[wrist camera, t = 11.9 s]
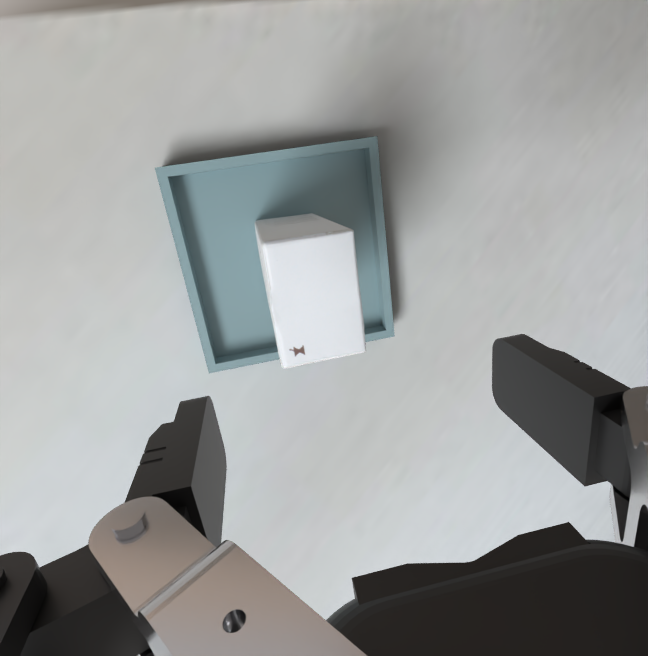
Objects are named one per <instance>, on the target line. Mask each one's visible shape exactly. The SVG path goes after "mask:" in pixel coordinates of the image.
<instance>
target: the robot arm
mask: <svg viewBox="0 0 648 656" xmlns="http://www.w3.org/2000/svg"><path fill="white" fill-rule="evenodd" d="M492 391H493V396H494V399H495V401H496V404H497V405H498V407H499V408H500V409H501V410H502V411H503V412H504V413H505V414H506V415H507V416H508V417H509V418H510V419H512V420H513V421H514V422H515V423H516V424H517V425H518V426H519V427H520V428H521V429H522V430H524V431H525V432H526V433H527V434H528V435H529V436H530V437H531V438H532V439H533V440H535V441H536V442H537V443H538V444H539V445H540V446H541V447H542V448H543V449H544V450H546V451H547V452H548V453H549V454H550V455H551V456H552V457H553V458H554V459H555V460H556V461H558V462H559V463H560V464H561V465H562V466H563V467H564V468H565V469H566V470H567V471H569V472H570V473H571V474H572V475H573V476H574V477H575V478H576V479H577V480H578V481H580V482H581V483H582V484H583V485H584V486H588V485H592V484H596V483H600V482H604V481H608V482H610V483H611V488H610V505H611V513H612V521H613V529H614V536H615V542H609V541H600V540H585V539H584V538H583V537H582V535H581V534H580V533H579V532H578V531H577V530H576V529H575V528H574V527H573V526H572V525H571V524H570V523H569V522H568V523H564V524H560V525H556V526H552V527H548V528H544V529H540V530H536V531H533V532H529V533H525V534H521V535H518V536H516V537H514V538H513V539H511V540H509V541H507V542H506V543H504V544H502V545H501V546H499V547H497V548H495V549H494V550H492V551H490V552H489V553H487V554H485V555H484V556H482V557H480V558H478V559H477V560H475V561H472V562H466V563H415V564H404V565H400V566H397V567H393V568H389V569H385V570H381V571H377V572H373V573H369V574H365V575H362V576H358V577H354V578H352V582H353V588H354V595H355V599H353V600H352V601H350V602H348V603H347V604H345V605H344V606H342V607H341V608H340V609H338V610H337V611H336V612H334V613H333V614H332V615H331V616H330V617H329V618H328V619H327V620H325V619H323V618H322V617H321V616H320V615H319V614H317V613H316V612H315V611H314V610H313V609H312V608H310V607H309V606H308V605H307V604H306V603H305V602H303V601H302V600H301V599H300V598H299V597H297V596H296V595H295V594H294V593H293V592H292V591H290V590H289V589H288V588H287V587H286V586H285V585H283V584H282V583H281V582H280V581H279V580H278V579H276V578H275V577H274V576H273V575H272V574H270V573H269V572H268V571H267V570H266V569H265V568H263V567H262V566H261V565H260V564H259V563H258V562H256V561H255V560H254V559H253V558H252V557H250V556H249V555H248V554H247V553H246V552H245V551H243V550H242V549H241V548H240V547H239V546H237V545H236V544H235V543H233V542H232V541H229V540H225V541H224V542H222V543H221V535H222V522H223V509H224V495H225V482H226V455H225V449H224V444H223V441H222V437H221V433H220V429H219V425H218V421H217V418H216V414H215V410H214V406H213V403H212V400H211V398H210V396H206V397H201V398H196V399H191V400H186V401H181V402H180V404H179V407H178V410H177V413H176V417H175V420H174V422H171V423H166V424H162V425H161V426H160V427H159V428H158V429H157V430H156V431H155V432H154V433H153V434H152V435H151V436H150V438H149V440H148V443H147V445H146V448H145V451H144V453H145V454H143V456H142V458H141V461H140V466H138V469H137V471H136V474H135V477H134V479H133V482H132V485H131V487H130V490H129V492H128V495H127V498H126V500H125V503H123V504H121V505H120V506H118V507H116V508H114V509H113V510H111V511H110V512H109V513H107V514H106V515H105V516H104V517H103V518H102V519H101V520H100V521H99V522H98V523H97V524H96V526H95V527H94V529H93V530H92V532H91V534H90V537H89V542H88V543H89V544H88V545H86V546H85V547H83V548H81V549H79V550H77V551H75V552H72V553H70V554H68V555H66V556H64V557H62V558H59V559H57V560H55V561H53V562H51V563H48V564H46V565H44V566H42V567H40V568H39V566H38V564H37V562H36V560H35V559H34V557H33V556H32V555H31V554H29V553H26V552H12V553H8V554H4V555H1V556H0V656H648V386H643V387H635V388H632V389H631V388H629V387H627V386H625V385H624V384H622V383H620V382H618V381H616V380H614V379H613V378H611V377H609V376H607V375H605V374H603V373H602V372H600V371H598V370H596V369H592V367H591V366H589V365H587V364H585V363H583V362H580V361H579V360H578V359H576V358H574V357H572V356H571V355H569V354H567V353H565V352H562V351H559V350H555V349H552V348H548V347H546V346H545V345H543V344H541V343H539V342H538V341H536V340H534V339H532V338H530V337H529V336H527V335H525V334H520V335H515V336H510V337H505V338H500V339H496V340H495V342H494V344H493V354H492Z"/></svg>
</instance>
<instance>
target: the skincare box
mask: <svg viewBox="0 0 648 656" xmlns="http://www.w3.org/2000/svg"><path fill="white" fill-rule="evenodd" d="M255 231H256V238H257V245H258V251H259V257H260V262H261V267H262V273H263V278H264V283H265V289H266V294H267V299H268V304H269V309H270V313H271V318H272V323H273V328H274V333H275V338H276V343H277V349H278V354H279V358H280V362H281V366H282V367H283V368H284V369H286V368H291V367H296V366H300V365H305V364H310V363H314V362H319V361H324V360H328V359H334V358H339V357H344V356H349V355H354V354H358V353H363V352H365V351H366V343H365V332H364V320H363V309H362V302H361V294H360V286H359V277H358V268H357V258H356V249H355V240H354V231H353V230H352V229H350V228H347V227H345V226H342V225H340V224H338V223H335V222H332V221H330V220H327V219H325V218H323V217H320V216H318V215H315V214H313V213H310V214H302V215H295V216H287V217H279V218H271V219H263V220H257V221H255Z"/></svg>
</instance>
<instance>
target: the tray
mask: <svg viewBox="0 0 648 656" xmlns="http://www.w3.org/2000/svg"><path fill="white" fill-rule="evenodd" d="M155 170H156V174H157V178H158V182H159V185H160V189H161V193H162V197H163V201H164V204H165V208H166V212H167V216H168V220H169V223H170V227H171V231H172V235H173V238H174V242H175V246H176V250H177V254H178V257H179V261H180V265H181V269H182V273H183V276H184V280H185V284H186V288H187V292H188V295H189V299H190V303H191V307H192V311H193V314H194V318H195V322H196V326H197V329H198V333H199V337H200V341H201V345H202V348H203V352H204V356H205V360H206V364H207V367H208V371H209V373H213V372H218V371H223V370H228V369H233V368H238V367H243V366H248V365H253V364H258V363H263V362H268V361H273V360H278V359H280V358H279V354H278V349H277V343H276V338H275V333H274V328H273V323H272V318H271V313H270V309H269V304H268V299H267V294H266V289H265V283H264V278H263V273H262V267H261V262H260V257H259V251H258V245H257V238H256V231H255V221H257V220H263V219H271V218H279V217H287V216H295V215H302V214H310V213H313V214H315V215H318V216H320V217H323V218H325V219H327V220H330V221H332V222H335V223H338V224H340V225H342V226H345V227H347V228H350V229H352V230H353V231H354V240H355V249H356V258H357V268H358V277H359V286H360V294H361V302H362V309H363V320H364V332H365V342H368V341H373V340H378V339H383V338H388V337H393V336H394V325H393V313H392V302H391V290H390V279H389V267H388V255H387V244H386V232H385V221H384V209H383V197H382V186H381V174H380V162H379V151H378V139H377V136H375V137H368V138H361V139H354V140H347V141H339V142H332V143H325V144H318V145H311V146H304V147H297V148H290V149H283V150H276V151H269V152H262V153H255V154H248V155H241V156H234V157H227V158H220V159H213V160H206V161H199V162H192V163H185V164H178V165H171V166H164V167H157V168H155Z"/></svg>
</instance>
